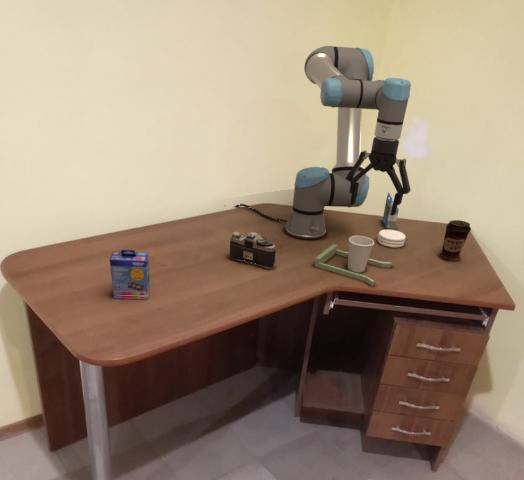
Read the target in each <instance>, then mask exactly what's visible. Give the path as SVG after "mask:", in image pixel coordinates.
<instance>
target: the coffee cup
mask: <svg viewBox="0 0 524 480" xmlns="http://www.w3.org/2000/svg"><path fill="white" fill-rule="evenodd" d="M445 228H446V229H445V233H444V238H443V243H442V248H441V254H440V258H442V259H445V260H448V261H459V259H460V255H461V252H462V250H463V248H464V246H465V244H466V241H467V238H468V235H469V233H470V232H471V231H472V228H471V224H470V223H469V222H467V221H465V220H461V219H460V220H459V219H453V220H450V221H449V222H448V223H447V224H446V225H445Z"/></svg>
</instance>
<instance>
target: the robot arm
mask: <svg viewBox="0 0 524 480" xmlns="http://www.w3.org/2000/svg"><path fill="white" fill-rule="evenodd" d="M374 65H375V64H374V58H373V54H372V53H371V51H370V50H369V49H367V48H360V47H348V46H347V47H346V46H334V45H325V46H320V47H318V48H316V49H314V50H312V51H311V53H309V55H308V56H307V57H306V59H305V62H304V66H303V67H304V74H305V77H306V78H307V79H308V81H309V82H310V83H311V84H313V85H317V86H318V88H319V89H320V92H319V93H320V94H319V95H320V96H319V98H320V103H321V105H322V106H324V107H330V108H332V109H333V108H337V125H336V126H337V127H336V157H335V158H336V159H335V165H334V166H333V167H332V168H331V172H330V169H328V168H326V167H320V166H309V167H304V168H302V169H300V170H298V171H297V173H296V175H295V180H294V181H295V182H294V188H293V198H292V208H291V212H290V215H289V216H288V219H283V218H276V217H273V218H272V216H269V215H267V214H265V213H263V212H262V211H260V210H259V209H257V210H256V208H254V209H252V208H253V207H252V208H248V207H251V206H250V205H248V204H245V203H239V204H240V206H239V205H238V204H236V205H235V206H234V207H235V208H239V207H245V208H248V209H249V210H252V211H254V212H256V213H257V214H259V215H260V216H263V217H265V218H267V219H269V220H272V221H277V222H284V223H285V228H286V229H285V228H284V231H285V233H286V234H287V235H289V236H290V237H293V238H296V239H301V240H318V239H319V240H320V239H322V238H324V237H325V236H326V231H327V230H326V228H327V227H326V222H325V216H324V210H325V207H335V208H336V207H337V208H339V207H340V208H359V207H361V206H362V205H363V204H364V203H365V201H366V199H367V197H368V194H369V189H370V176H369V175H368V174H367V173H368V172H370V171H371V170H372V169H373V170H374V171H375V172H377V171H379V172H382V173H386V174H387V175H388V176H389V178H390V180H391V183H392V185H393V186H394V188H395V190H396V193H394V196H393V197H394V198H393V200H392V201H393V206H392V210H391V215H392V216H393V215H394V214H396V210H397V207H398V206H400V205H401V204H402V203H403V197H404V195H408V194H409V193H410V192H411V185H410V182H409V181H410V180H409V176H408V171H407V167H406V165H407V159H406V158H401V159H400V158H397V154H398V150H399V144H400V140H399V139H401V135H402V131H403V125H404V121H405V117H406V112H407V107H408V102H409V99H410V97H411V88H412V83H411V81H410V80H408V79H404V78H397V77H387V78H386V79H376V80H373V78H374V72H375V66H374ZM363 110H376V111H378V113H377V118H376V123H375V129H374V133H373V134H374V137H373V139H372V144H371V150H370V152H368V151H367V150H362V151H361V149H362V147H361V145H362V121H363V120H362V115H363ZM367 159H368V161H369V162H370V163H369V164H367V166H365V167H364V166H362V165H363V163H364V162H365V160H367ZM395 165H396V166H397V167H398V172H399V175H400V179H399V176H398V175H397V173H396V168H395V167H394V166H395ZM400 180H401V181H400ZM258 210H259V211H260V212H259V211H258ZM262 213H263V214H262ZM264 214H265V215H264ZM274 218H275V219H274ZM276 219H277V220H276ZM279 220H280V221H279Z"/></svg>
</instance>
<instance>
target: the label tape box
mask: <svg viewBox="0 0 524 480" xmlns="http://www.w3.org/2000/svg"><path fill="white" fill-rule="evenodd" d="M393 201H394V200H393V197H392V195H391V193H390V192H389V191H388V192H387V194H386V200H385V204H384V210H383V215H382V223H383V225H384V227H385V229H386V230H396V227H397V221H398V215H399V210H400V209H399V207H398V206H397V210H396V214H394V215H393V216H392V215H391V210H392V206H393Z"/></svg>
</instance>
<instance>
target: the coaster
mask: <svg viewBox="0 0 524 480" xmlns="http://www.w3.org/2000/svg"><path fill="white" fill-rule="evenodd" d="M377 242H378V243H379V245H381V246H384V247H387V248H392V249H394V248H395V249H396V248H398V249H399V248H401V247H404V246H405V242H406V235H405V234H404V233H403V232H402V231H399V230H396V229H382V230H380V231H379V232H378V236H377Z"/></svg>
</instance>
